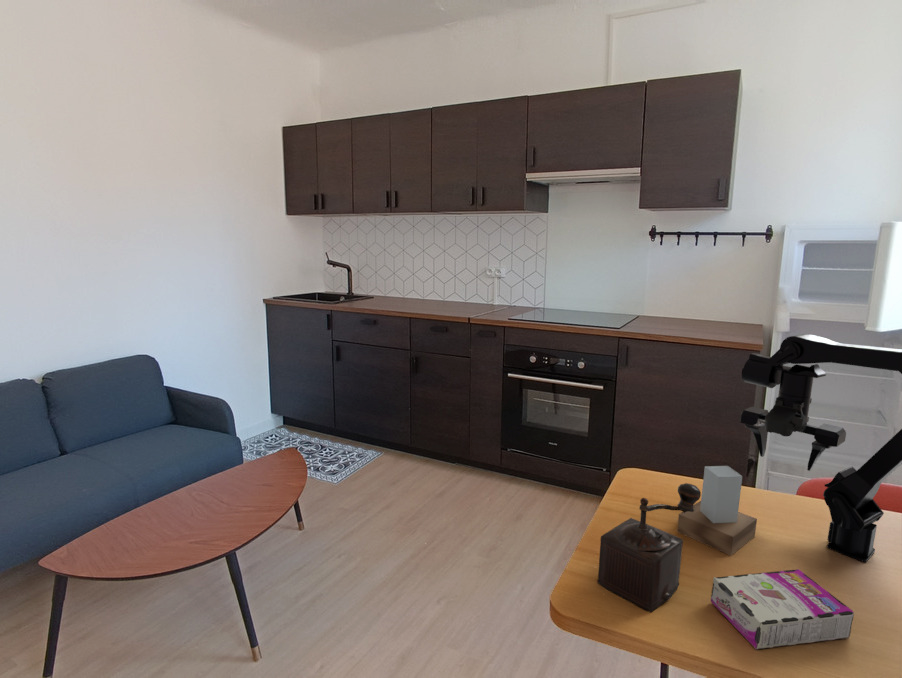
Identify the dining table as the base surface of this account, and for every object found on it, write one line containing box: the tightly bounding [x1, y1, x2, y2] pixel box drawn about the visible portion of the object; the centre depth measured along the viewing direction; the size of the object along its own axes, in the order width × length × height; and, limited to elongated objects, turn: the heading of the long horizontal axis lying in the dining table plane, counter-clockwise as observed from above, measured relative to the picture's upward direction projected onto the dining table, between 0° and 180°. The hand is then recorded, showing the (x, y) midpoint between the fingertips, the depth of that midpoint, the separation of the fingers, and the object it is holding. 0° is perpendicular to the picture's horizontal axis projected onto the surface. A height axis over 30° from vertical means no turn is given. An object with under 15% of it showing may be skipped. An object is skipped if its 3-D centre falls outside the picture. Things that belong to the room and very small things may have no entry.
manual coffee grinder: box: [597, 482, 702, 613], centre depth 95 cm, size 16×11×18 cm
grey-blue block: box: [700, 465, 743, 523], centre depth 111 cm, size 5×5×10 cm
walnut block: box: [676, 500, 758, 556], centre depth 112 cm, size 11×11×4 cm
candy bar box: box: [710, 568, 855, 650], centre depth 87 cm, size 11×5×16 cm
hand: (785, 463), depth 117 cm, fingers open, 9 cm apart
